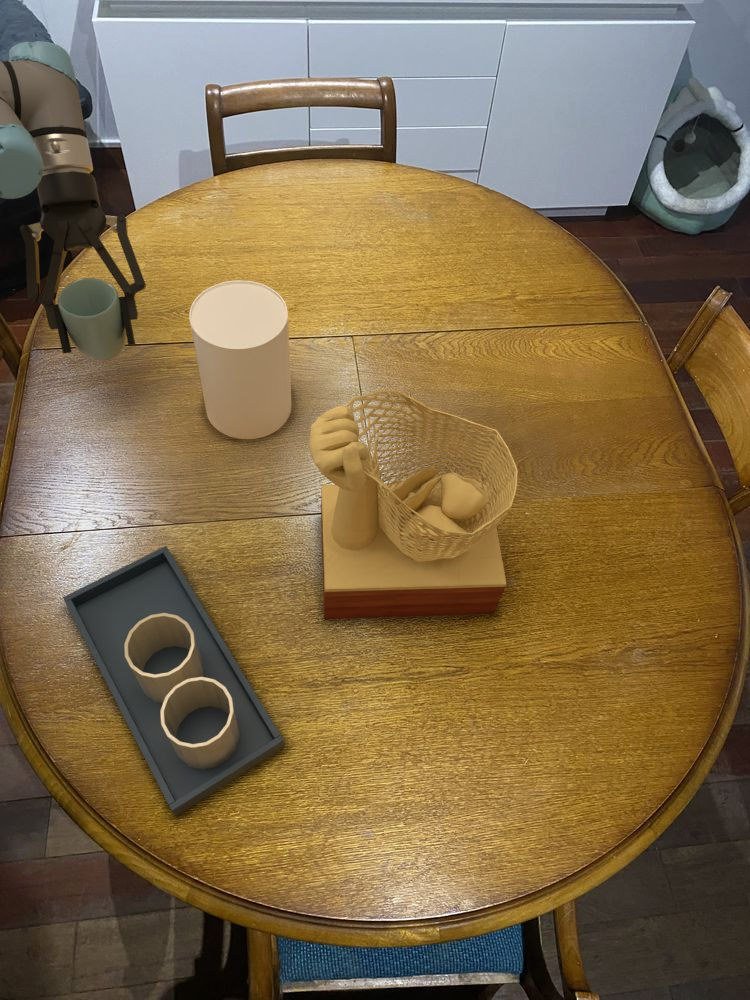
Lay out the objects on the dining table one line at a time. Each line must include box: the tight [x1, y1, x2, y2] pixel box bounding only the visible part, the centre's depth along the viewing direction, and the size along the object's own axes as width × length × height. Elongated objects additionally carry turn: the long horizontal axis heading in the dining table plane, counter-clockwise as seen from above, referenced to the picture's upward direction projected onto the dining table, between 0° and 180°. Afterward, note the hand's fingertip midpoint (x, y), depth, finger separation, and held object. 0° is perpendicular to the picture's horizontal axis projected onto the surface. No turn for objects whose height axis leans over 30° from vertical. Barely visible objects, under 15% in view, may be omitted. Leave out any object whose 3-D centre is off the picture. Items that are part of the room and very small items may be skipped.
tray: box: [62, 545, 285, 817], centre depth 99 cm, size 32×15×3 cm, turn 34°
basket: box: [308, 389, 519, 620], centre depth 97 cm, size 25×18×35 cm
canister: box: [188, 279, 292, 440], centre depth 117 cm, size 14×14×20 cm
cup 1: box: [57, 277, 127, 362], centre depth 110 cm, size 8×8×10 cm
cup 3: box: [160, 677, 240, 770], centre depth 92 cm, size 8×8×10 cm
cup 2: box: [124, 613, 204, 703], centre depth 96 cm, size 8×8×10 cm
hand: (99, 348), depth 109 cm, fingers closed on cup 1, 8 cm apart
